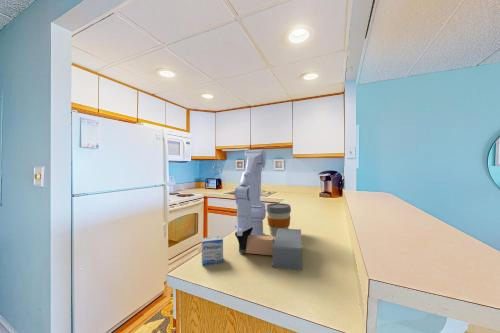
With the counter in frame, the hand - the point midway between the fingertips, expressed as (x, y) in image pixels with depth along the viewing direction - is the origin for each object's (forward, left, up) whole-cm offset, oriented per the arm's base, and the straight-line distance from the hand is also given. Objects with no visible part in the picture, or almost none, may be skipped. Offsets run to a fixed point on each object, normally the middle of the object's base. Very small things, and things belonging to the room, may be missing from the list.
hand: (244, 247), depth 84 cm
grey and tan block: (0, +5, -2) cm, 6 cm away
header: (0, +18, -2) cm, 18 cm away
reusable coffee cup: (-24, +12, -2) cm, 27 cm away
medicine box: (+10, -10, -2) cm, 14 cm away
